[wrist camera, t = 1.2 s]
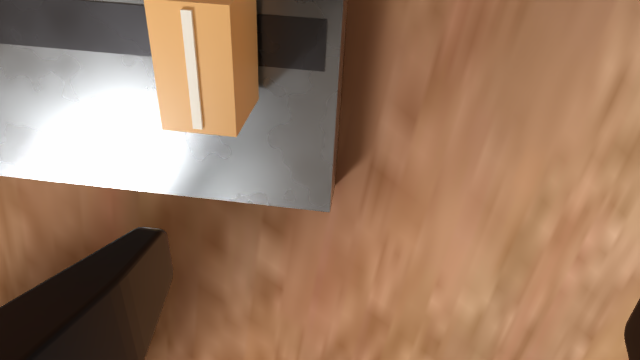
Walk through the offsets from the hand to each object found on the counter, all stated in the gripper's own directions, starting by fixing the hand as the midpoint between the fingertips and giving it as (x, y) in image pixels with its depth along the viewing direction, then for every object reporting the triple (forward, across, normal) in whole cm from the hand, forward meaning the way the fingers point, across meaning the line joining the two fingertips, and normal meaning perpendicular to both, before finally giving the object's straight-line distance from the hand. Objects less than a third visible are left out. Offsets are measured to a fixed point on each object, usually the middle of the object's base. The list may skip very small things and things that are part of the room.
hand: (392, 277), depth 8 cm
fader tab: (+11, +6, 0) cm, 12 cm away
